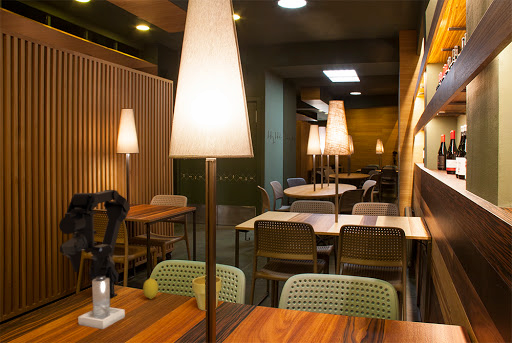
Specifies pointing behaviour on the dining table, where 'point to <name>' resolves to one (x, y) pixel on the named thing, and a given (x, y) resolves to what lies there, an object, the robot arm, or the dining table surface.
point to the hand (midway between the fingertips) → (86, 272)
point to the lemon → (150, 288)
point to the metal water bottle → (101, 297)
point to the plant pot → (199, 290)
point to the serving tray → (101, 323)
